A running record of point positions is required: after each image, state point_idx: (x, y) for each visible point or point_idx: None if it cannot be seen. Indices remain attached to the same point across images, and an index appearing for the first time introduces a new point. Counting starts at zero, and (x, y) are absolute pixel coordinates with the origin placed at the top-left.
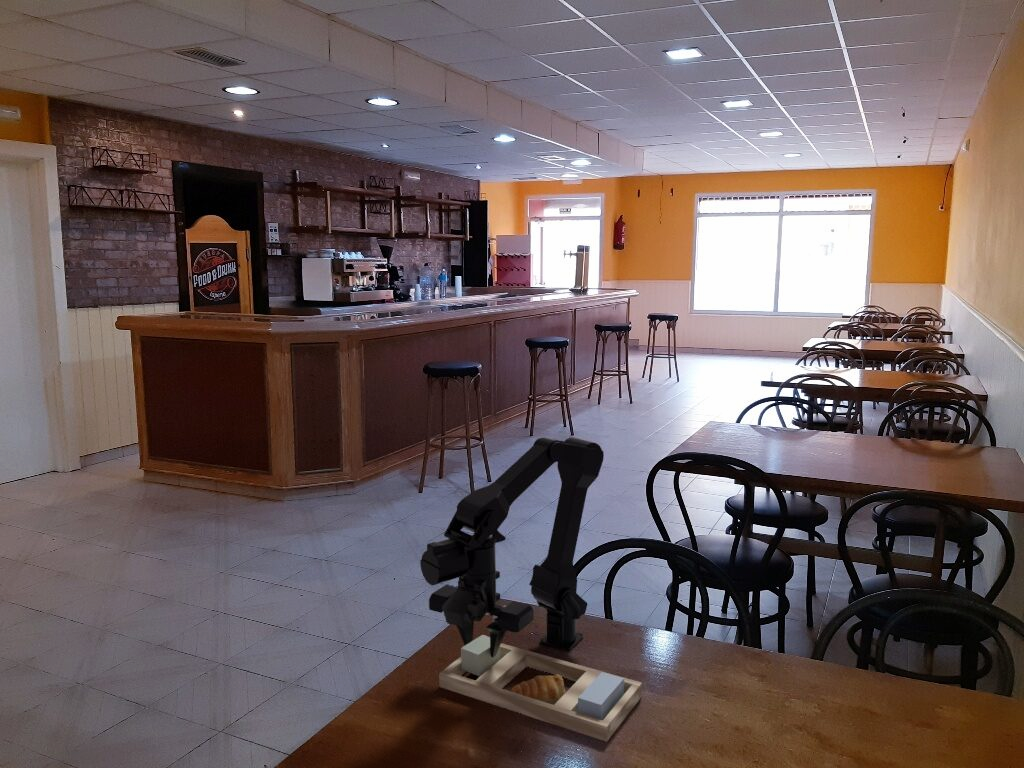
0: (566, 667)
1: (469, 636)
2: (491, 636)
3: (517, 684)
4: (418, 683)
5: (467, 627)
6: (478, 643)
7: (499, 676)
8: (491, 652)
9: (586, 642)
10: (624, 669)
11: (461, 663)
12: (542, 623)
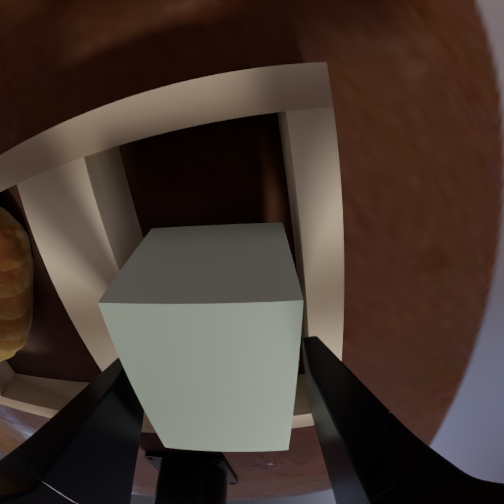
0: (35, 400)
1: (320, 421)
2: (42, 459)
3: (3, 272)
4: (407, 53)
5: (343, 482)
6: (234, 402)
7: (47, 266)
8: (113, 371)
9: (154, 470)
10: (41, 426)
11: (285, 237)
12: (277, 480)
